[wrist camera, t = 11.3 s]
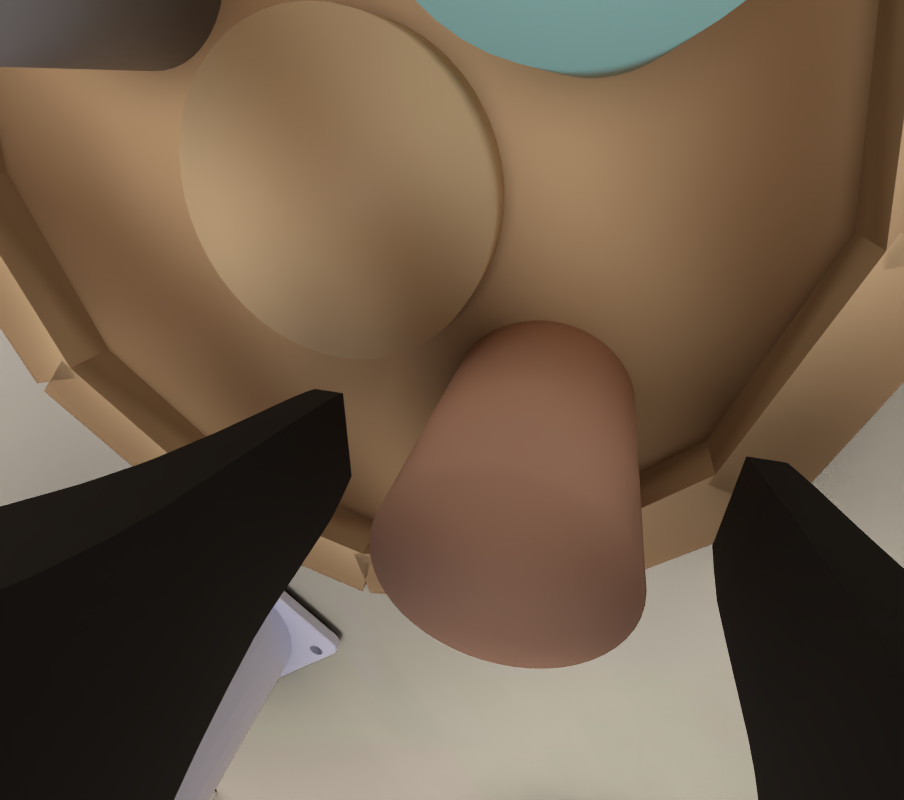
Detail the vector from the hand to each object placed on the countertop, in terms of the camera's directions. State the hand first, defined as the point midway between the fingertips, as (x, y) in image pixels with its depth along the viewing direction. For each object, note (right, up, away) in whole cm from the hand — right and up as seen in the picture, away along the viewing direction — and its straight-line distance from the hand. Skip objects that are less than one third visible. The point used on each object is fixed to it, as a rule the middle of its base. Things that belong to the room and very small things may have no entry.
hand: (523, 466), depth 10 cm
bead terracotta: (+1, +1, +2) cm, 2 cm away
